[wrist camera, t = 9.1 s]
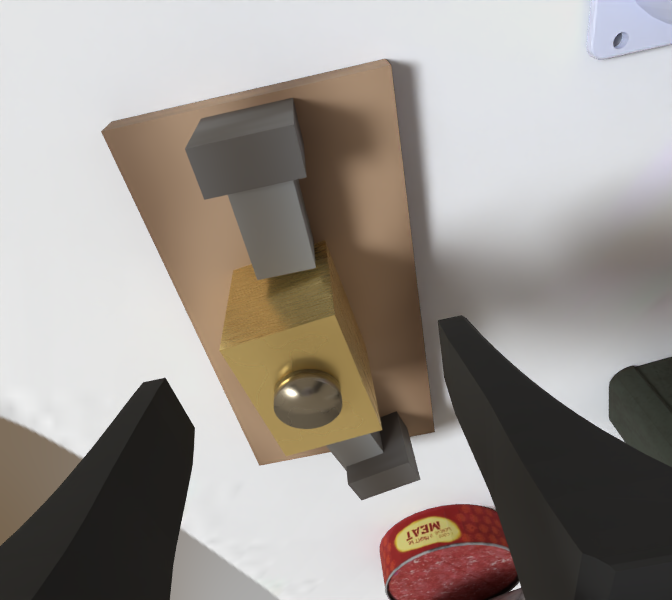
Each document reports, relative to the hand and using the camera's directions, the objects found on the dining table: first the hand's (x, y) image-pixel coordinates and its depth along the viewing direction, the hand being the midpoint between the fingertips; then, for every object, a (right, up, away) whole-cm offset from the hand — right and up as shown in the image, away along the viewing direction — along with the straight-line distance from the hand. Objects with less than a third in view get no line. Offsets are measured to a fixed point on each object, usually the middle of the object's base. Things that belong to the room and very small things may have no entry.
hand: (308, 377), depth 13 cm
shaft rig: (-1, +2, +10) cm, 10 cm away
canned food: (+9, -16, +24) cm, 30 cm away
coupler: (-1, +2, +9) cm, 9 cm away
